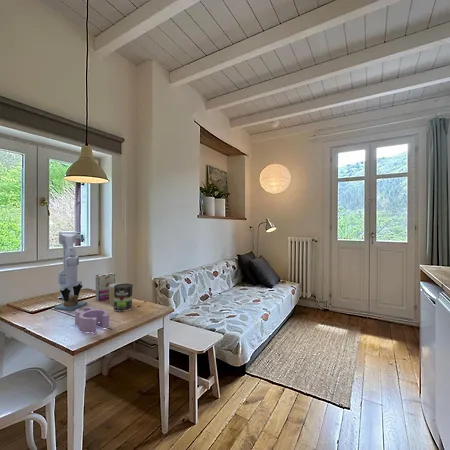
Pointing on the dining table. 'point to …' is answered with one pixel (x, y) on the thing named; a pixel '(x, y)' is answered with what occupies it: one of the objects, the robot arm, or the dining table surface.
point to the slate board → (70, 308)
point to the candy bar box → (104, 285)
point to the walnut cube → (71, 300)
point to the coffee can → (122, 297)
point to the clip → (91, 319)
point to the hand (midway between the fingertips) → (71, 299)
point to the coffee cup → (112, 293)
